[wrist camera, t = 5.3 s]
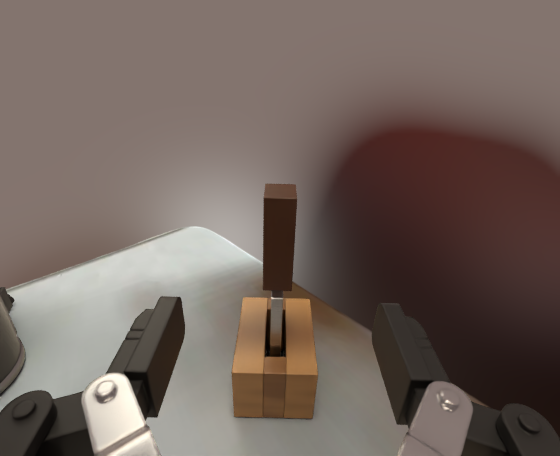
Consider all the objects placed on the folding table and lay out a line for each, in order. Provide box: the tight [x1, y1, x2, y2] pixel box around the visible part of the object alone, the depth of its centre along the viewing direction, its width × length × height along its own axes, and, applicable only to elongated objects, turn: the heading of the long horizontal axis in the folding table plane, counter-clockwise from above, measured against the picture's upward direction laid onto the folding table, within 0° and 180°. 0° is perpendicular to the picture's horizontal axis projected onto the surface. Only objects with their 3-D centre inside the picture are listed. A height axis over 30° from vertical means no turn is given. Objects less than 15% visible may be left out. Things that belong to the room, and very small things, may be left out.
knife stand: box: [232, 297, 318, 419], centre depth 28 cm, size 8×6×5 cm
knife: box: [263, 184, 297, 357], centre depth 25 cm, size 4×2×17 cm, turn 0°
